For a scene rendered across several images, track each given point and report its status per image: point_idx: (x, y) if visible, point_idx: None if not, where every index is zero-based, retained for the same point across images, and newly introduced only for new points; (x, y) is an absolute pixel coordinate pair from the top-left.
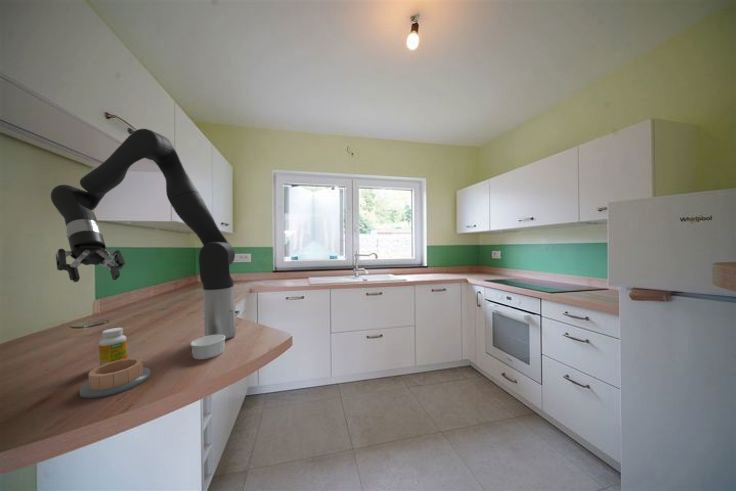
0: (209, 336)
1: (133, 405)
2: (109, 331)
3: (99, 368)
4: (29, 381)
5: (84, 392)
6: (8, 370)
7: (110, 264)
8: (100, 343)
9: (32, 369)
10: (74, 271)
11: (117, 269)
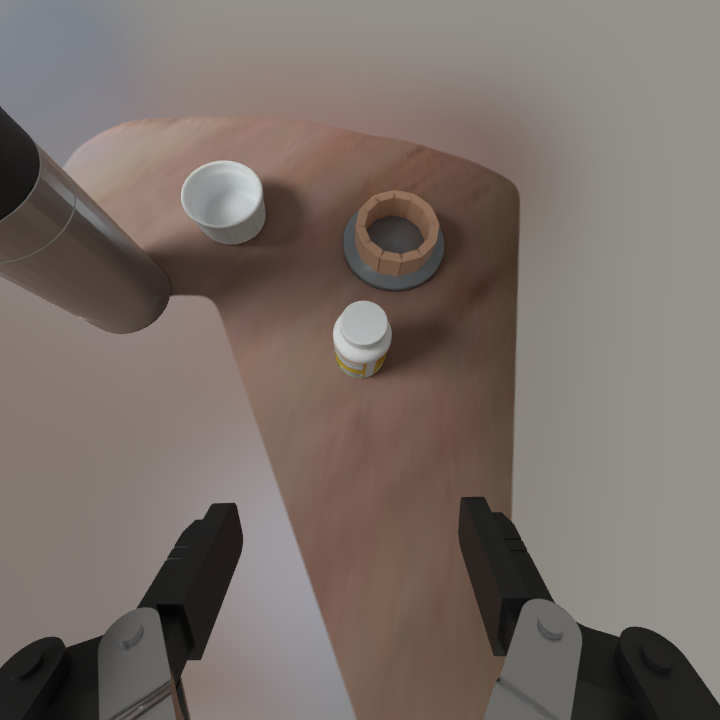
0: (197, 218)
1: (409, 151)
2: (375, 311)
3: (418, 248)
4: (482, 433)
5: (441, 236)
6: None
7: (171, 671)
8: (391, 331)
9: None
10: (510, 559)
11: (159, 589)
